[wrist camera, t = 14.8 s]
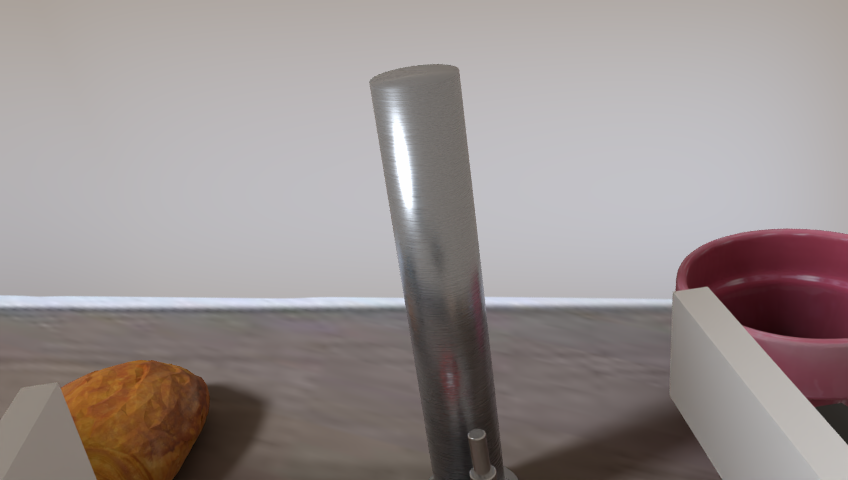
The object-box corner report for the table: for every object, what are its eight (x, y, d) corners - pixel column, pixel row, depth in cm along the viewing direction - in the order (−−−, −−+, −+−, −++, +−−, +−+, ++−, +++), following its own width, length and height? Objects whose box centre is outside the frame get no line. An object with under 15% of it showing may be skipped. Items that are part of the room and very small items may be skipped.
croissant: (246, 423, 64) (232, 336, 62) (151, 551, 49) (127, 443, 47) (92, 419, 67) (72, 335, 64) (-42, 538, 52) (-73, 435, 50)
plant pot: (668, 378, 58) (669, 226, 53) (874, 384, 55) (897, 221, 49) (681, 520, 46) (683, 340, 41) (948, 540, 42) (990, 345, 37)
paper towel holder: (358, 832, 33) (191, 252, 21) (357, 491, 52) (267, 83, 40) (700, 774, 33) (722, 170, 21) (575, 456, 52) (550, 41, 40)
